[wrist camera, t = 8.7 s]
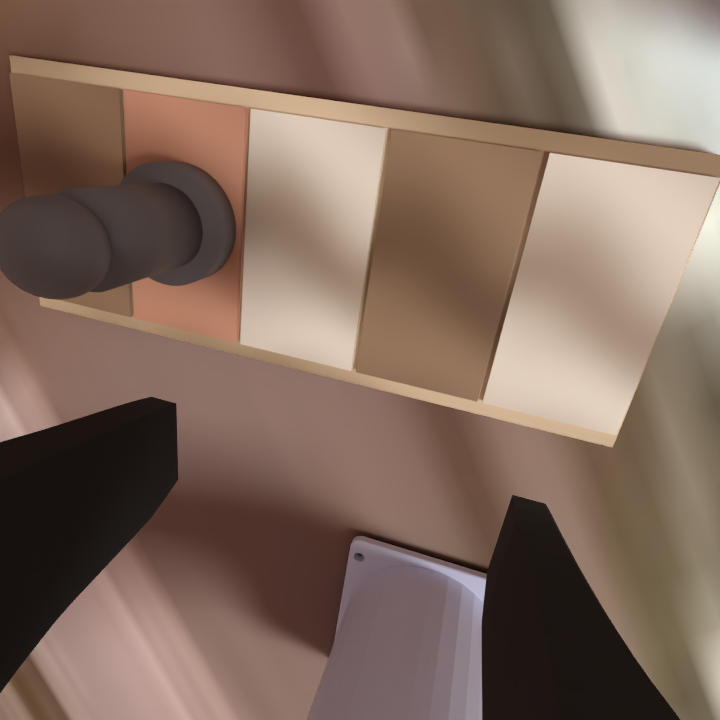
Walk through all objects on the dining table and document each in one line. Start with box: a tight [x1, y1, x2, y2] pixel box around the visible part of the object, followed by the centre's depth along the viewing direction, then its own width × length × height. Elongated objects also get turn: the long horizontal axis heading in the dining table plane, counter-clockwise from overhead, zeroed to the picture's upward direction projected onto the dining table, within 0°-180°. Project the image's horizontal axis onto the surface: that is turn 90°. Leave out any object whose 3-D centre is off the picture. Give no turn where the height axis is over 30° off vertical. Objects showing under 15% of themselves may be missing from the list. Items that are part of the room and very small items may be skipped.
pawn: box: [0, 162, 236, 300], centre depth 16 cm, size 4×4×8 cm
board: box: [9, 55, 720, 447], centre depth 19 cm, size 10×25×1 cm, turn 83°
